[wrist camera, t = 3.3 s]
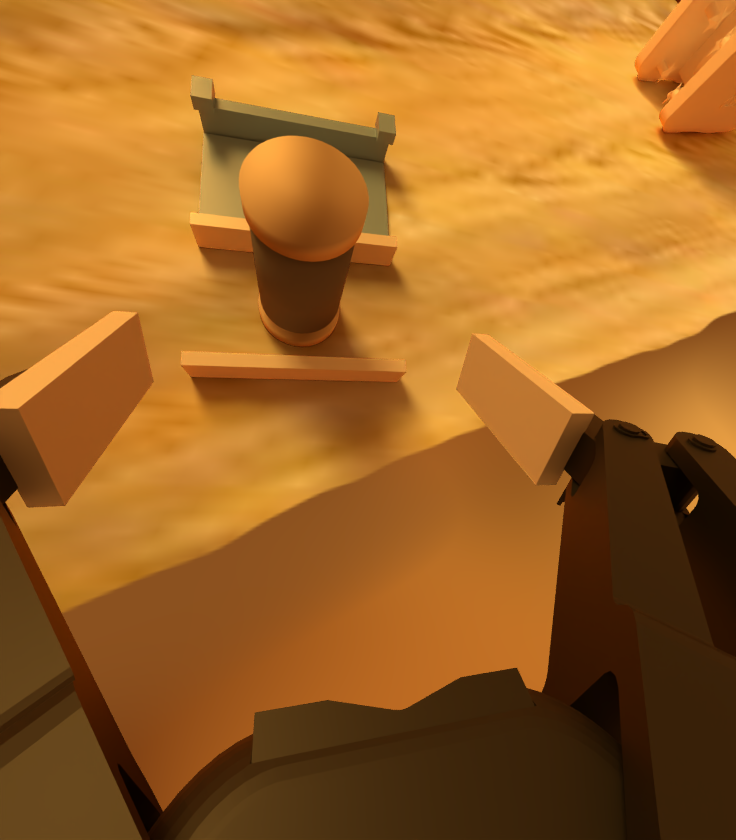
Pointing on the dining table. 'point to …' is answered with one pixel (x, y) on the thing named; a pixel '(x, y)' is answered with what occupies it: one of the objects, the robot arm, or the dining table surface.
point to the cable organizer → (695, 66)
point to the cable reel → (301, 232)
